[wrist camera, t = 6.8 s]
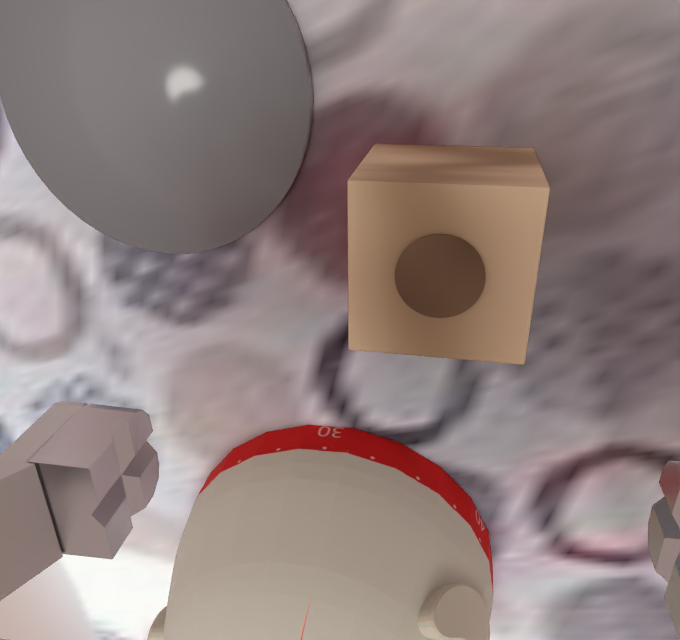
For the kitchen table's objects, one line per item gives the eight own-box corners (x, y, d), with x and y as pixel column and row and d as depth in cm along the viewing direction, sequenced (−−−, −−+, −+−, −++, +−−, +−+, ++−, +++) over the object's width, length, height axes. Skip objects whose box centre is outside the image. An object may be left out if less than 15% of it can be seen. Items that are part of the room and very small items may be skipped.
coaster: (305, -111, 17) (300, -115, 17) (319, 255, 22) (315, 261, 22) (-34, -92, 19) (-49, -95, 19) (47, 241, 24) (38, 246, 24)
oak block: (533, 147, 19) (550, 188, 15) (514, 292, 21) (524, 366, 17) (375, 143, 20) (347, 181, 16) (373, 283, 22) (347, 351, 18)
